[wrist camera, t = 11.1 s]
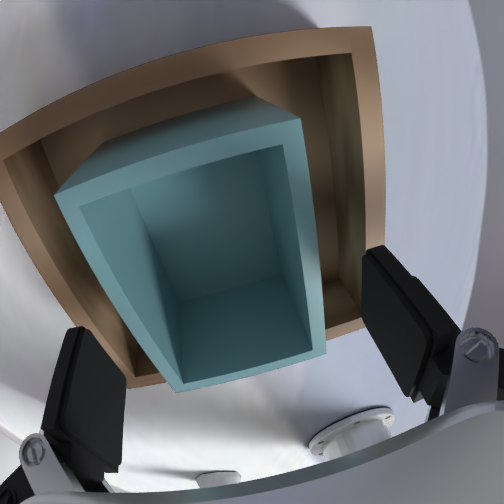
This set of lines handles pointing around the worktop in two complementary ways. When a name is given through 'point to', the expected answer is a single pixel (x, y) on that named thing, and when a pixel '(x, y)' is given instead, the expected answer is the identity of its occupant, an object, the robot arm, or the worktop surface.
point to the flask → (218, 479)
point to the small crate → (206, 241)
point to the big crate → (193, 99)
